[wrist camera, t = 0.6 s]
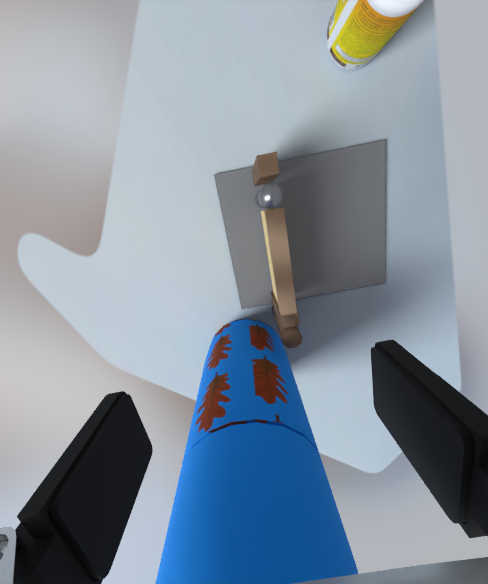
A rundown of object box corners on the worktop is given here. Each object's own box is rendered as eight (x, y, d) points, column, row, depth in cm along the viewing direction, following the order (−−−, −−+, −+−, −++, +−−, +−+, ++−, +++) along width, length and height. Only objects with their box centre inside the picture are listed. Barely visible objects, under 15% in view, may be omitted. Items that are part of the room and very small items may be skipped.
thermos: (193, 345, 34) (91, 646, 11) (254, 303, 32) (294, 552, 9) (239, 394, 37) (240, 716, 14) (297, 358, 35) (417, 657, 12)
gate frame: (214, 175, 27) (204, 160, 19) (383, 140, 27) (445, 111, 19) (244, 321, 33) (246, 356, 25) (383, 296, 33) (430, 324, 25)
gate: (253, 191, 27) (258, 184, 20) (271, 187, 27) (282, 179, 20) (271, 301, 31) (280, 328, 24) (286, 299, 31) (300, 325, 24)
